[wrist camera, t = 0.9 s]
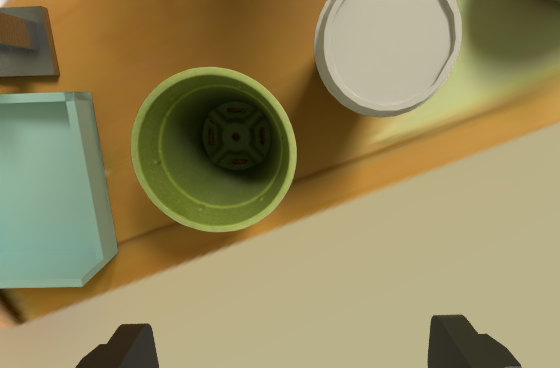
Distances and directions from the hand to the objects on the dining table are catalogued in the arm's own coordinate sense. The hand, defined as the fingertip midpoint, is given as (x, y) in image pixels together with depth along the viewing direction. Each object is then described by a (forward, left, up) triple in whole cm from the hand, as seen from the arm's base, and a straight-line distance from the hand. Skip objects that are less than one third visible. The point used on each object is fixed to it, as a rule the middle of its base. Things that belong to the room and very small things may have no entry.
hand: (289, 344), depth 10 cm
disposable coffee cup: (-10, +7, -27) cm, 29 cm away
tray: (+1, -26, -27) cm, 37 cm away
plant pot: (-3, -5, -27) cm, 27 cm away
